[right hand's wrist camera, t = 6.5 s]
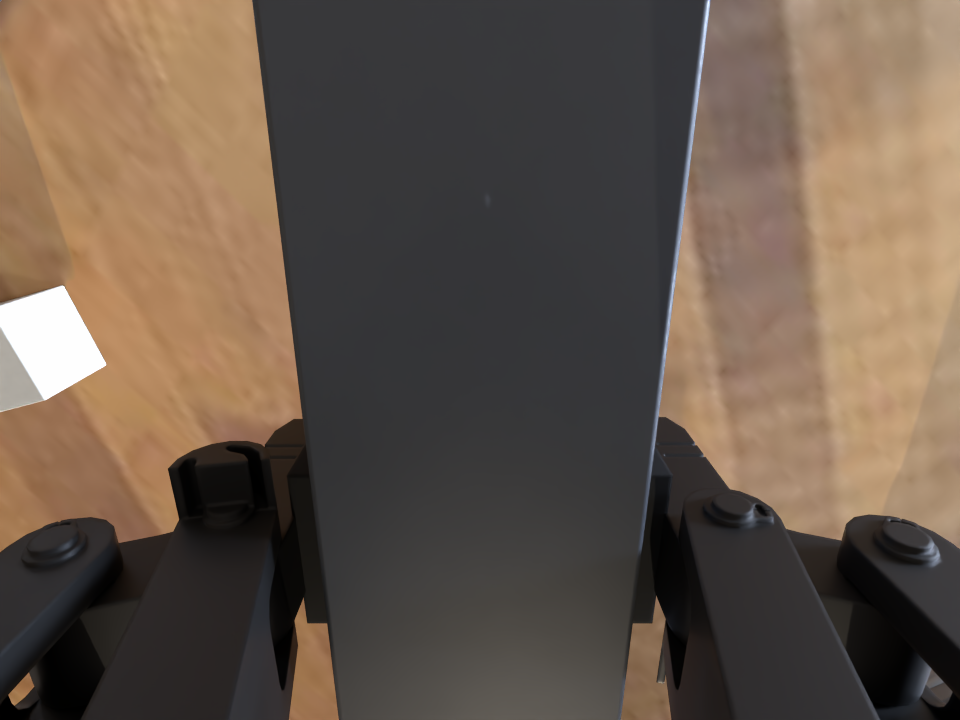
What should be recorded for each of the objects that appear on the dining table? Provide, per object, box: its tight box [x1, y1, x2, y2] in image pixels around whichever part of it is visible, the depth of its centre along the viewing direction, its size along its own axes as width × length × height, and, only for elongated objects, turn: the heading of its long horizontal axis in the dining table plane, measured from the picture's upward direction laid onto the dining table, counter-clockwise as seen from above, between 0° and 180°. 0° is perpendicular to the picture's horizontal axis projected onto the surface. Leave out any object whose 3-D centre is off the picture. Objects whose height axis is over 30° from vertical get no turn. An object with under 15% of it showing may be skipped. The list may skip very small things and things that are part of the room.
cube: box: [0, 286, 106, 412], centre depth 24 cm, size 4×4×4 cm
